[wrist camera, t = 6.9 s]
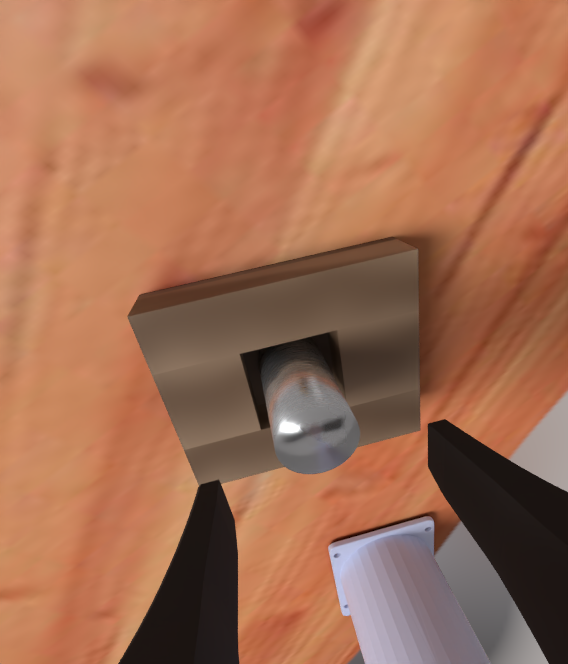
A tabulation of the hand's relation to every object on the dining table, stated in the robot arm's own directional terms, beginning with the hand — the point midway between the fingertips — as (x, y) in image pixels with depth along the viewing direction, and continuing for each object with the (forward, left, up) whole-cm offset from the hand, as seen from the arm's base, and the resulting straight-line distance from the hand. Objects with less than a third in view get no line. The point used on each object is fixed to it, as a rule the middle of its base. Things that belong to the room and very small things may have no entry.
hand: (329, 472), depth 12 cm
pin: (0, 0, -7) cm, 7 cm away
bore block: (0, 0, -8) cm, 8 cm away
